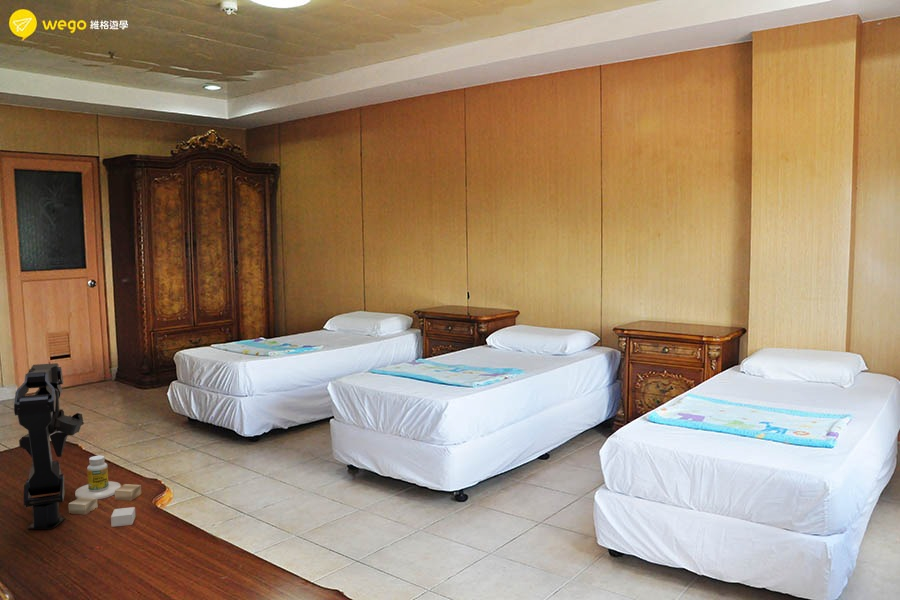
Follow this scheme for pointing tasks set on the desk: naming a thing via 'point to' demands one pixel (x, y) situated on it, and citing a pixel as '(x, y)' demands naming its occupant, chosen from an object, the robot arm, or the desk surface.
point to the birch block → (82, 505)
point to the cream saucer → (106, 493)
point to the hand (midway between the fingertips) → (50, 462)
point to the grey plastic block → (123, 517)
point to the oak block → (127, 492)
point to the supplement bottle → (97, 474)
